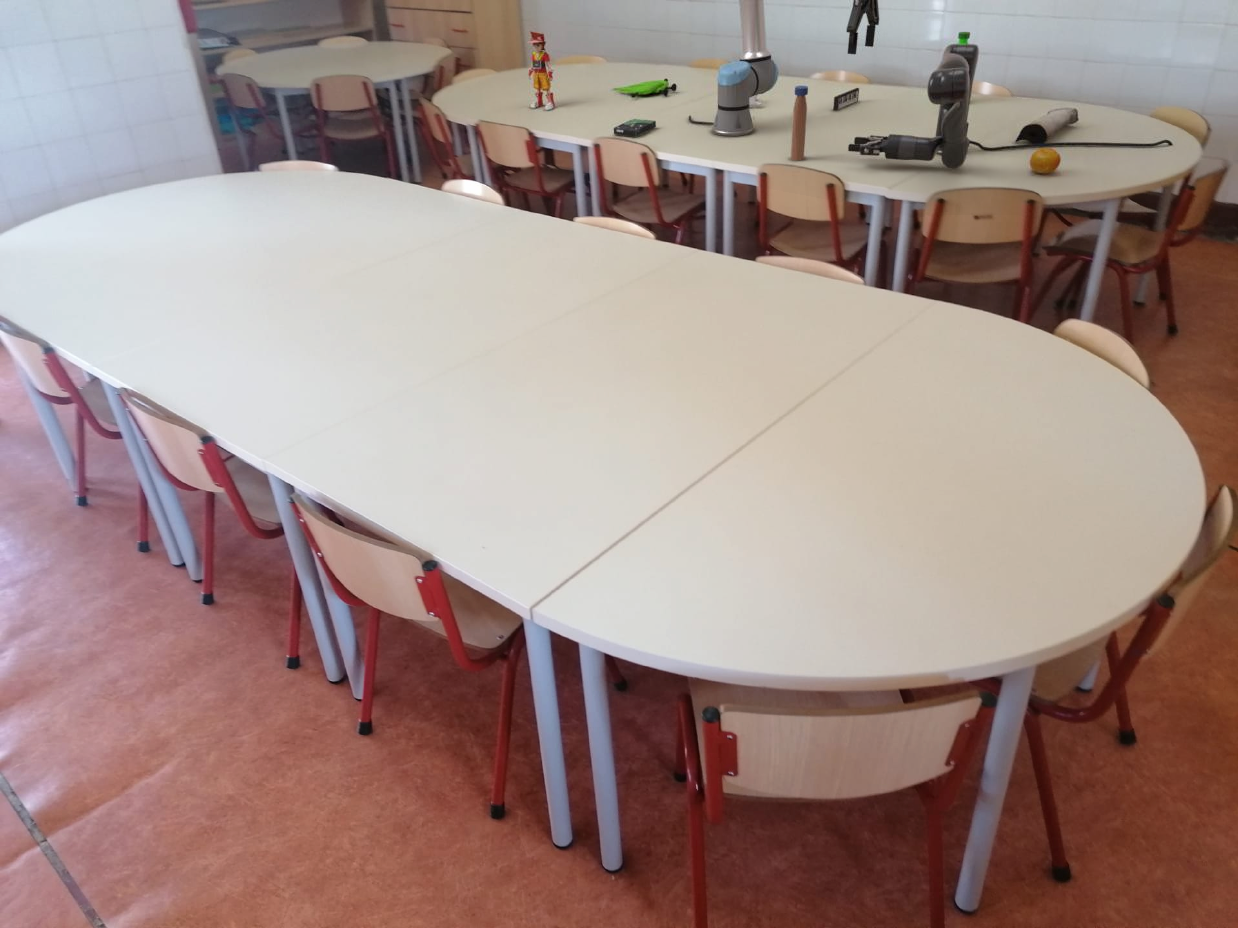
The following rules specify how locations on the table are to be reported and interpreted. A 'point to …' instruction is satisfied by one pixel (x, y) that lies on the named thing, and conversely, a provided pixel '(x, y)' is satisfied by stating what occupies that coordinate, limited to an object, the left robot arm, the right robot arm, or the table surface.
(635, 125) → the disk drive
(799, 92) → the cap
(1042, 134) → the rolled mat
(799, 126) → the bottle
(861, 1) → the left robot arm
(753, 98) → the anatomical model
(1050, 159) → the fruit
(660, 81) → the toy
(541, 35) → the toy
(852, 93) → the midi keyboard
